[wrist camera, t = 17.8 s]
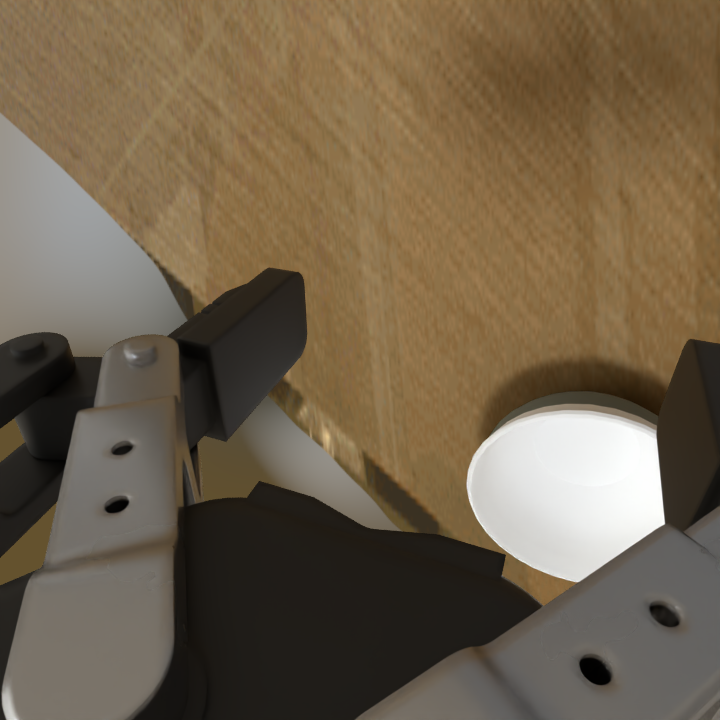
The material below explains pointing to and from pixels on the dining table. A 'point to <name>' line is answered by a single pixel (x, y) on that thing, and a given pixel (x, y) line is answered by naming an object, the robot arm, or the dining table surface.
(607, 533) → the bowl
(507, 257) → the dining table surface
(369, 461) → the dining table surface
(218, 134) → the dining table surface
